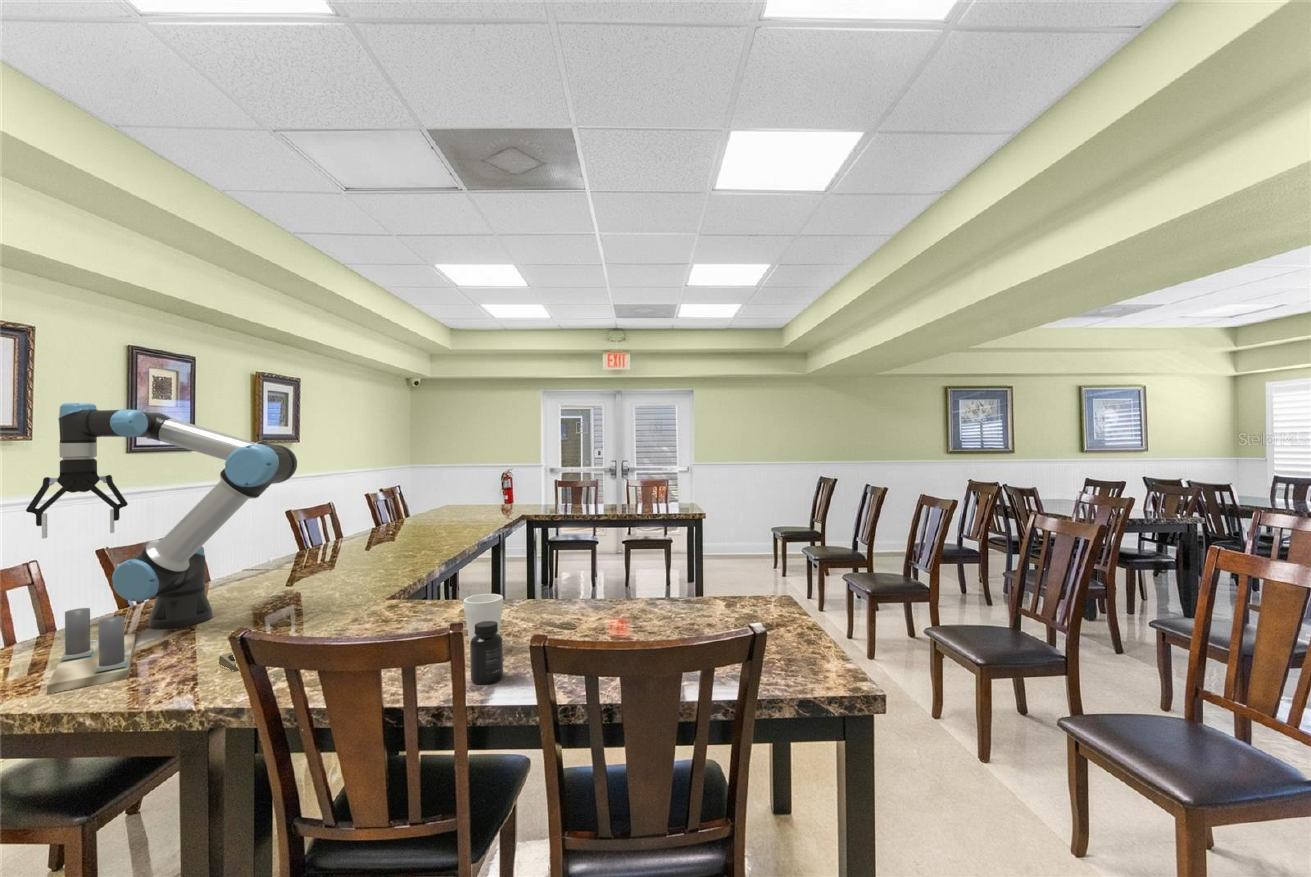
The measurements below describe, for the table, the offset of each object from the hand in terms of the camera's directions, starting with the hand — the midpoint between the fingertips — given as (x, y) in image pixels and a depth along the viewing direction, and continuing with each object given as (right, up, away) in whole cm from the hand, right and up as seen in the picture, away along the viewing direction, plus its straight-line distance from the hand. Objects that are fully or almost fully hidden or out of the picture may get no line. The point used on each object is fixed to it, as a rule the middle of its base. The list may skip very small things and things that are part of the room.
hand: (79, 535), depth 167 cm
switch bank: (+24, -28, -21) cm, 43 cm away
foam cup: (+118, -26, -18) cm, 122 cm away
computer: (+64, -28, -20) cm, 72 cm away
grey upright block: (+20, -26, -21) cm, 39 cm away
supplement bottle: (+123, -26, -36) cm, 131 cm away
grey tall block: (+36, -26, -30) cm, 53 cm away
